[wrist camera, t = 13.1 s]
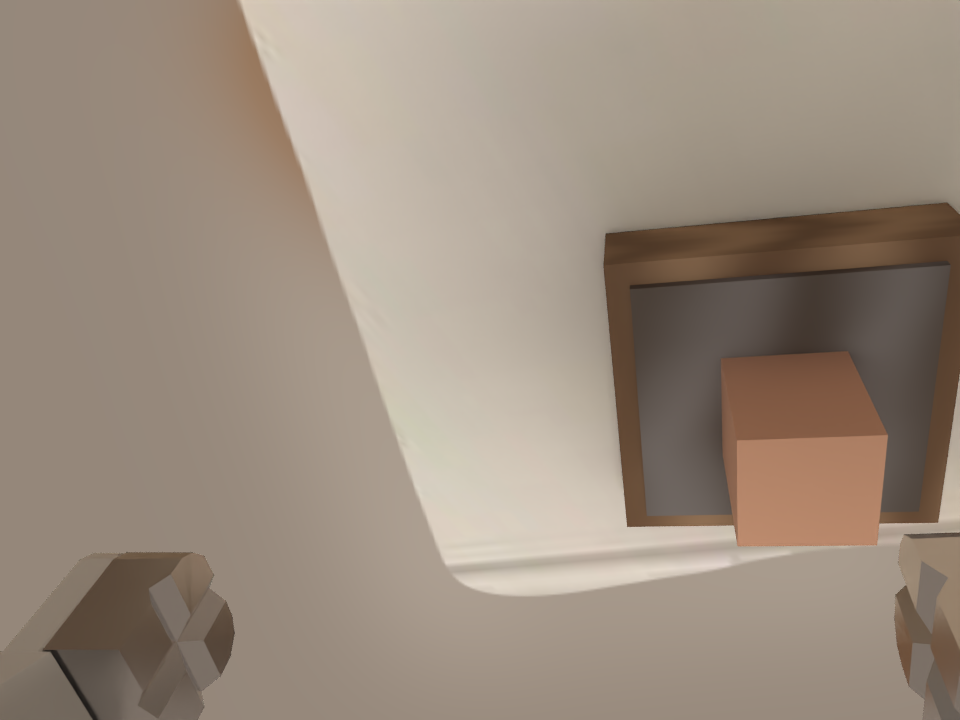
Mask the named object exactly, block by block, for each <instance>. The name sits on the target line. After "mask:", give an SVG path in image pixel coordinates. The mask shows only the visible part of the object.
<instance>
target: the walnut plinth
mask: <svg viewBox="0 0 960 720" xmlns="http://www.w3.org/2000/svg"><path fill="white" fill-rule="evenodd" d="M604 275H605V286H606V297H607V308H608V320H609V331H610V342H611V353H612V364H613V375H614V386H615V397H616V408H617V419H618V430H619V441H620V452H621V463H622V474H623V485H624V496H625V507H626V518H627V527H645V526H720V525H734V521H733V515H732V509H731V503H730V496H729V490H728V484H727V478H726V472H725V466H724V460H723V448H722V392H721V358H735V357H753V356H771V355H788V354H806V353H824V352H841V351H848V352H849V354H850V357H851V359H852V361H853V363H854V365H855V367H856V369H857V371H858V373H859V375H860V378H861V380H862V382H863V384H864V386H865V388H866V390H867V392H868V394H869V396H870V399H871V401H872V403H873V405H874V407H875V409H876V411H877V413H878V415H879V417H880V420H881V422H882V424H883V426H884V428H885V430H886V432H887V434H888V440H887V450H886V460H885V470H884V480H883V490H882V500H881V510H880V520H879V523H938V519H939V512H940V505H941V498H942V491H943V485H944V478H945V471H946V464H947V457H948V450H949V443H950V436H951V429H952V422H953V415H954V408H955V402H956V395H957V388H958V381H959V374H960V214H959V213H958V212H957V211H955V210H954V209H953V208H952V207H951V206H950V205H949V204H948V203H939V204H928V205H917V206H906V207H895V208H884V209H873V210H862V211H851V212H840V213H829V214H818V215H807V216H796V217H785V218H774V219H763V220H752V221H741V222H730V223H719V224H708V225H697V226H686V227H675V228H664V229H653V230H642V231H631V232H620V233H609V234H606V239H605V253H604Z"/></svg>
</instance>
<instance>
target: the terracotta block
mask: <svg viewBox="0 0 960 720" xmlns="http://www.w3.org/2000/svg"><path fill="white" fill-rule="evenodd" d="M721 392H722V448H723V460H724V466H725V472H726V478H727V484H728V490H729V496H730V503H731V509H732V515H733V521H734V527H735V533H736V539H737V545H738V546H834V545H877V540H878V530H879V520H880V510H881V500H882V490H883V480H884V470H885V460H886V450H887V440H888V434H887V432H886V430H885V428H884V426H883V424H882V422H881V420H880V417H879V415H878V413H877V411H876V409H875V407H874V405H873V403H872V401H871V399H870V396H869V394H868V392H867V390H866V388H865V386H864V384H863V382H862V380H861V378H860V375H859V373H858V371H857V369H856V367H855V365H854V363H853V361H852V359H851V357H850V354H849V352H848V351H841V352H824V353H806V354H788V355H771V356H753V357H735V358H721Z"/></svg>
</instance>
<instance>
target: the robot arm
mask: <svg viewBox="0 0 960 720" xmlns="http://www.w3.org/2000/svg"><path fill="white" fill-rule="evenodd" d="M898 564H899V567H900V570H901V572H902V575H903V578H904V580H905V583H906V586H904V587H903V588H902V589H901V590H900V591H899V592H898V593H897V594H896V595H895V616H894V617H895V618H894V620H895V630H896V640H897V647H898V651H899V655H900V659H901V664H902V667H903V670H904V673H905V676H906V679H907V683H908V685H909V687H910V688H911V689H913V690H914V691H915V692H916V693H917V694H919V695H920V696H921V697H922V698H924V700H925V701H924V712H923V720H960V533H932V534H904V535H903V538H902V540H901V543H900V549H899V559H898ZM213 577H214V574H213V572H212V570H211V568H210V566H209V564H208V562H207V560H206V558H205V556H203V555H200V554H196V553H193V552H126V553H93V554H90V555H88V556H86V557H84V558H82V559H80V560H79V561H78V562H77V564H76V565H75V566H74V567H73V568H72V570H71V571H70V572H69V573H68V575H67V576H66V577H65V578H64V579H63V580H62V581H61V583H60V584H59V585H58V586H57V588H56V589H55V590H54V591H53V592H52V593H51V595H50V596H49V597H48V598H47V599H46V601H45V602H44V603H43V604H42V605H41V607H40V608H39V609H38V610H37V611H36V612H35V614H34V615H33V616H32V617H31V619H30V620H29V621H28V622H27V623H26V625H25V626H24V627H23V628H22V629H21V631H20V632H19V633H18V634H17V635H16V636H15V638H14V639H13V640H12V641H11V642H10V643H9V645H8V646H7V647H6V648H5V650H4V651H0V720H198V718H199V716H200V714H201V713H202V710H203V709H204V702H203V697H202V690H204V689H205V688H206V687H208V686H209V685H210V684H211V683H213V682H214V681H215V680H217V679H218V678H219V677H220V676H221V674H222V673H223V671H224V669H225V666H226V665H227V663H228V660H229V658H230V656H231V651H232V645H233V640H234V634H235V632H234V625H233V617H232V614H231V612H230V609H229V607H228V604H227V602H226V601H225V600H224V599H223V598H222V597H220V596H219V595H218V594H216V593H215V592H214V591H212V590H211V589H210V588H209V587H210V585H211V582H212V580H213Z"/></svg>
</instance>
